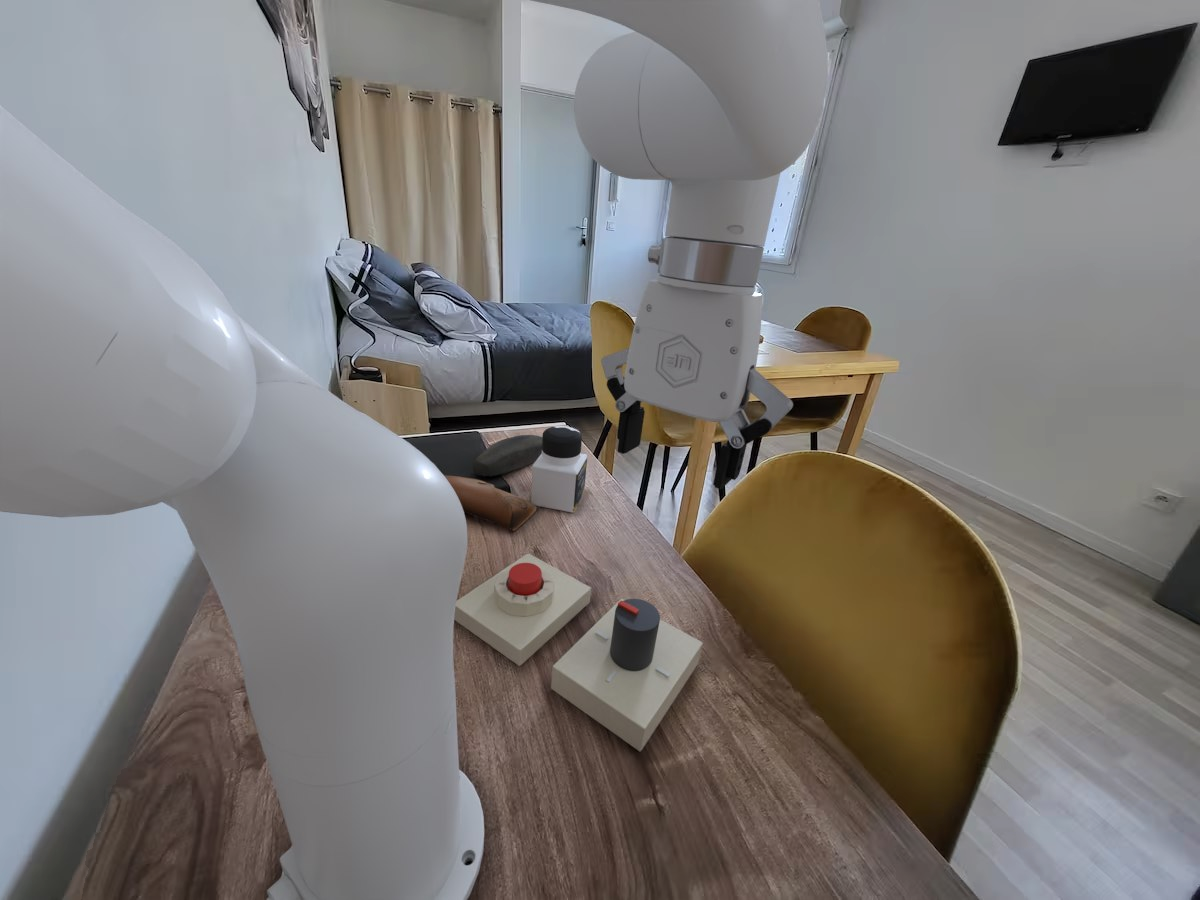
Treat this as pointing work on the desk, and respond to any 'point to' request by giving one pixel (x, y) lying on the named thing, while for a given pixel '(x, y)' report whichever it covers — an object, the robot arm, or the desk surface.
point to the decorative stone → (508, 455)
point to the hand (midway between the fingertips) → (673, 465)
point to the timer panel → (625, 680)
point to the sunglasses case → (491, 502)
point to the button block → (521, 610)
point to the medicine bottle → (559, 470)
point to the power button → (525, 579)
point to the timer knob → (634, 634)
